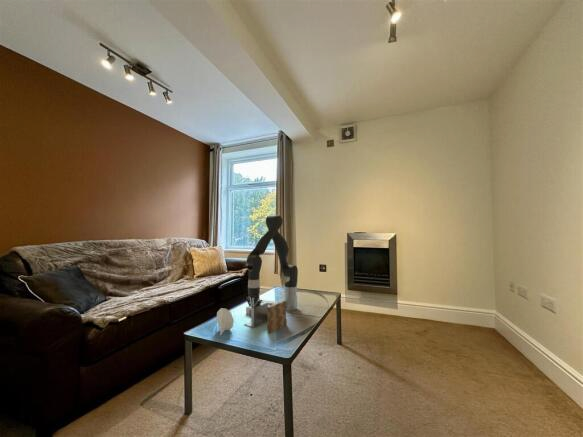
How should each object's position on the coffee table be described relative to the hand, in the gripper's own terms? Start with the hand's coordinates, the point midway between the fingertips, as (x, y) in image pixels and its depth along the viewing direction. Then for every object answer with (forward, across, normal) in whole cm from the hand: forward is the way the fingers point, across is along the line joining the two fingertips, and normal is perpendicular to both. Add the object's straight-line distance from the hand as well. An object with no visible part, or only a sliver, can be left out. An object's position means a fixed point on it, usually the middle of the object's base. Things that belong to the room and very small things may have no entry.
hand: (253, 313), depth 154 cm
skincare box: (+3, +2, -21) cm, 22 cm away
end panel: (+6, -19, -1) cm, 20 cm away
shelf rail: (+6, -4, -8) cm, 11 cm away
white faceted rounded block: (+6, +2, +22) cm, 23 cm away
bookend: (+6, -5, 0) cm, 8 cm away
